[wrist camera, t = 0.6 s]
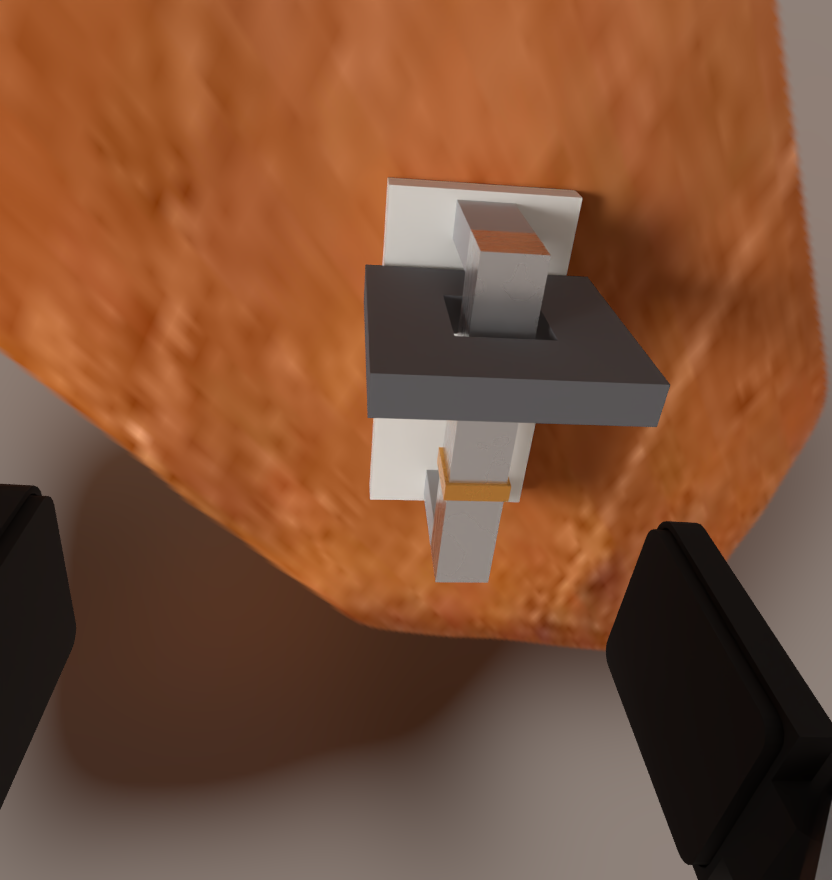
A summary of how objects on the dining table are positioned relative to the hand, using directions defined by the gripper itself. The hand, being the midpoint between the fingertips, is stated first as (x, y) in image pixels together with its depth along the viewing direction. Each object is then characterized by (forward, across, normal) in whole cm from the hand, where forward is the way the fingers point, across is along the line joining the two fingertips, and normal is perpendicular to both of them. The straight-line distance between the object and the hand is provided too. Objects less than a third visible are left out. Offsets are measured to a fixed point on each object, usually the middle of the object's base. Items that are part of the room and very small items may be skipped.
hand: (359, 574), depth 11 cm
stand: (+30, -7, +9) cm, 32 cm away
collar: (+28, -7, +4) cm, 29 cm away
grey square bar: (+24, -7, +10) cm, 26 cm away
